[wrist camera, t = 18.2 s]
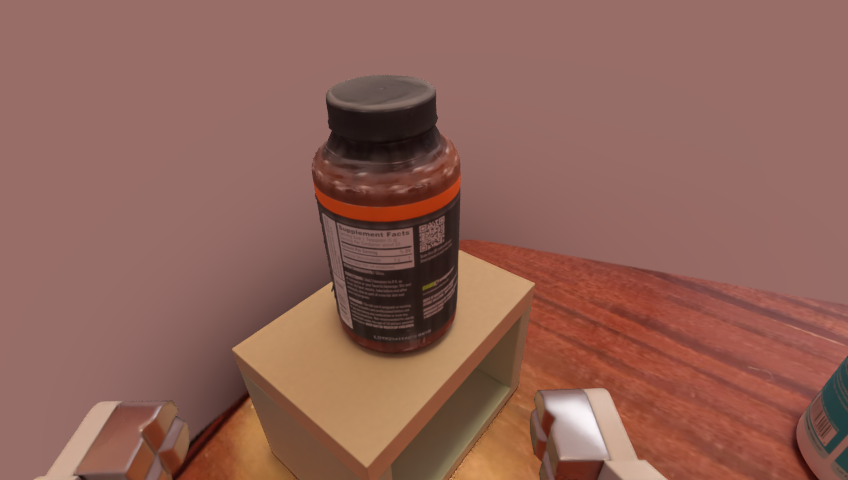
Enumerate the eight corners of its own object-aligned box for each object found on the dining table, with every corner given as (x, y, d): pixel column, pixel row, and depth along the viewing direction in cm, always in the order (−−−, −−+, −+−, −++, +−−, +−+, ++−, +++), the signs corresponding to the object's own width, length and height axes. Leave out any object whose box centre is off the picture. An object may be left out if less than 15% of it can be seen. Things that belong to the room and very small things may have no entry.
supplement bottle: (373, 266, 26) (352, 61, 19) (471, 291, 24) (485, 73, 17) (315, 338, 21) (261, 103, 15) (430, 376, 19) (427, 124, 13)
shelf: (383, 566, 21) (366, 468, 16) (272, 452, 26) (231, 349, 21) (518, 386, 29) (535, 283, 24) (414, 325, 34) (410, 228, 29)
